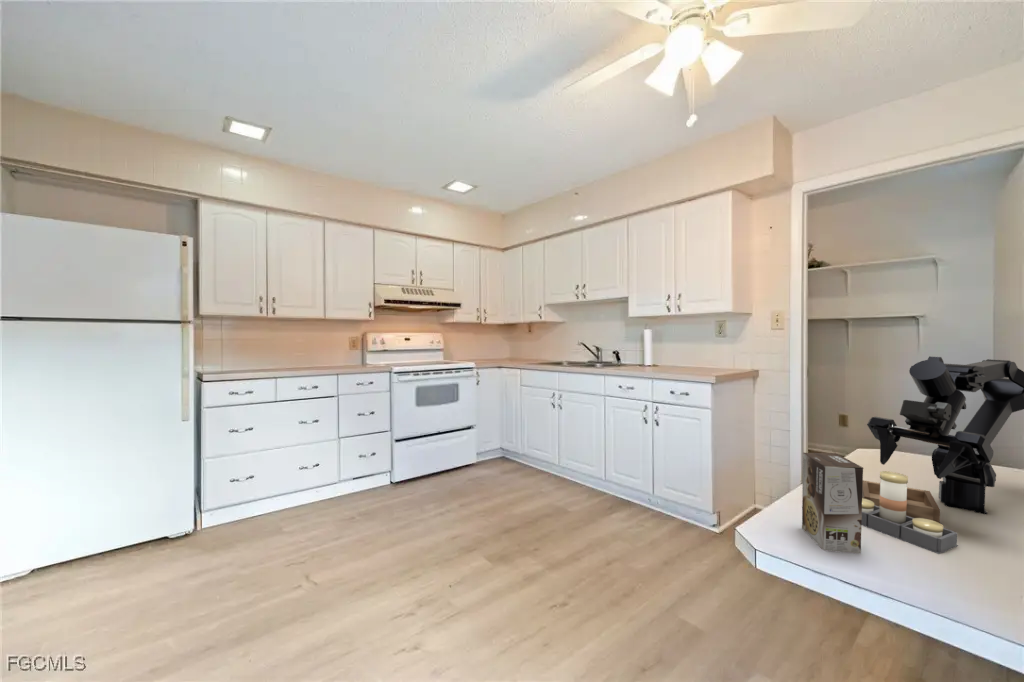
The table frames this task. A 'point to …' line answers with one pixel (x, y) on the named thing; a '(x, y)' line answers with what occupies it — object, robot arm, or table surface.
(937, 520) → the walnut tray
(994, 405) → the robot arm
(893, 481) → the cream capped cylinder
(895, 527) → the grey compartment tray
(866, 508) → the cream domed cylinder
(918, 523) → the fuse
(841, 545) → the coffee box
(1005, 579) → the table surface
